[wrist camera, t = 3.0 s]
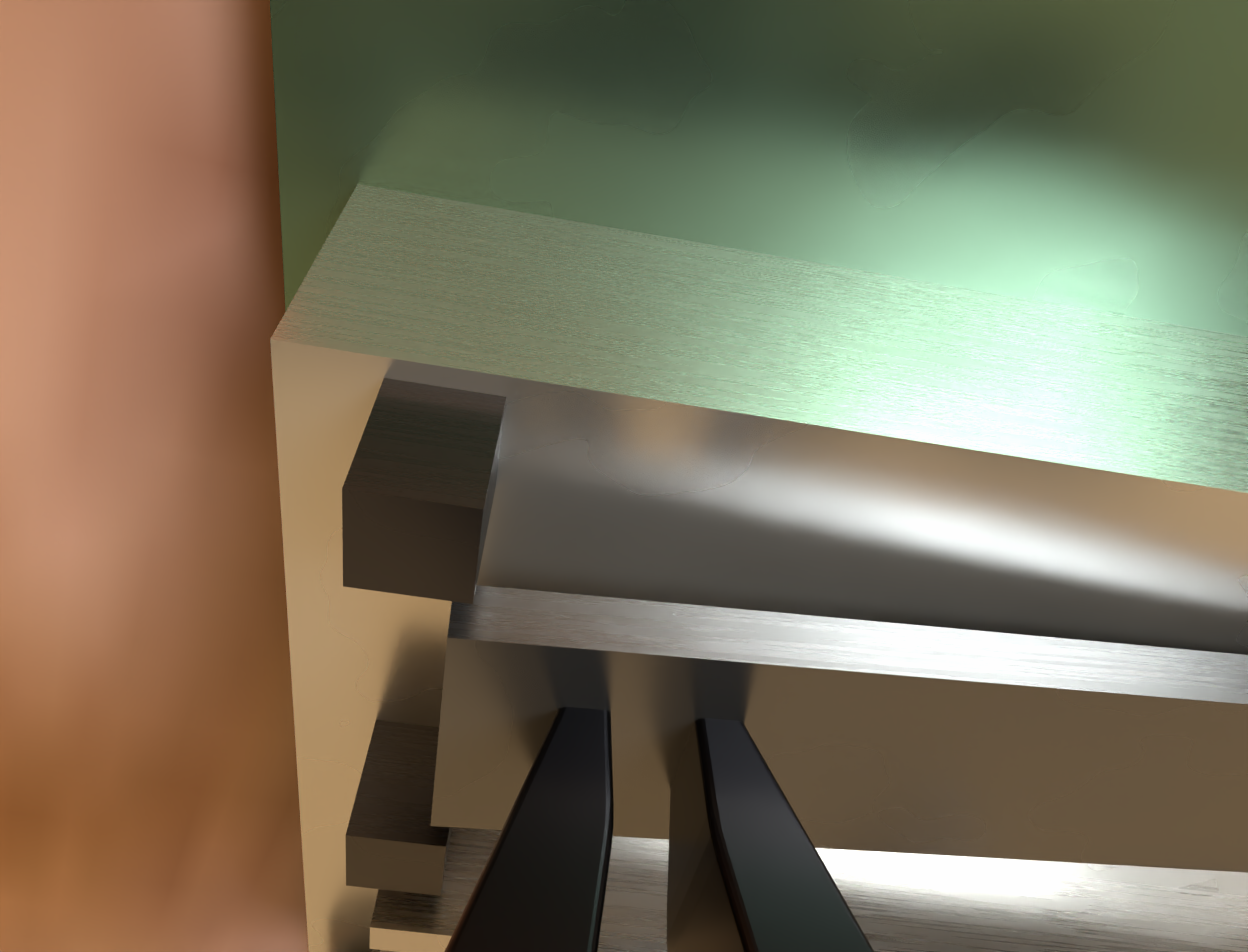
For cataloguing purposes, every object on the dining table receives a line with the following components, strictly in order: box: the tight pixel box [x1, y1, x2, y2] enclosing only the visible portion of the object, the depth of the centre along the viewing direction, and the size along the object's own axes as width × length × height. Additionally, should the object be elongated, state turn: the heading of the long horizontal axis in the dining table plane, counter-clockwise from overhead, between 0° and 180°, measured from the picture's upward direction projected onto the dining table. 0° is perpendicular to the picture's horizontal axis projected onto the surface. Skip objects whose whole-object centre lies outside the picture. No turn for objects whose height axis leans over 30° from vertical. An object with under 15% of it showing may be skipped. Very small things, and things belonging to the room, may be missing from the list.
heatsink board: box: [270, 0, 1248, 952], centre depth 14 cm, size 16×23×6 cm
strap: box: [430, 585, 1248, 873], centre depth 10 cm, size 13×3×1 cm, turn 80°
